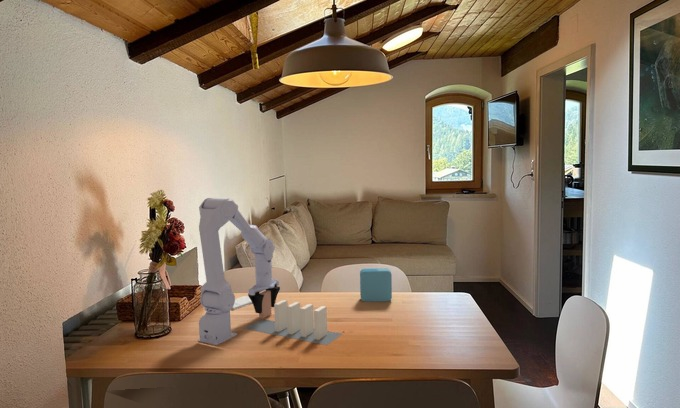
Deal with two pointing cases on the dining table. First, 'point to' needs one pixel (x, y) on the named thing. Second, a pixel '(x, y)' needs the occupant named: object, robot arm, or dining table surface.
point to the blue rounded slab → (375, 285)
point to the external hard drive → (242, 302)
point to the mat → (269, 328)
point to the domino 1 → (266, 304)
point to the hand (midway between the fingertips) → (265, 309)
